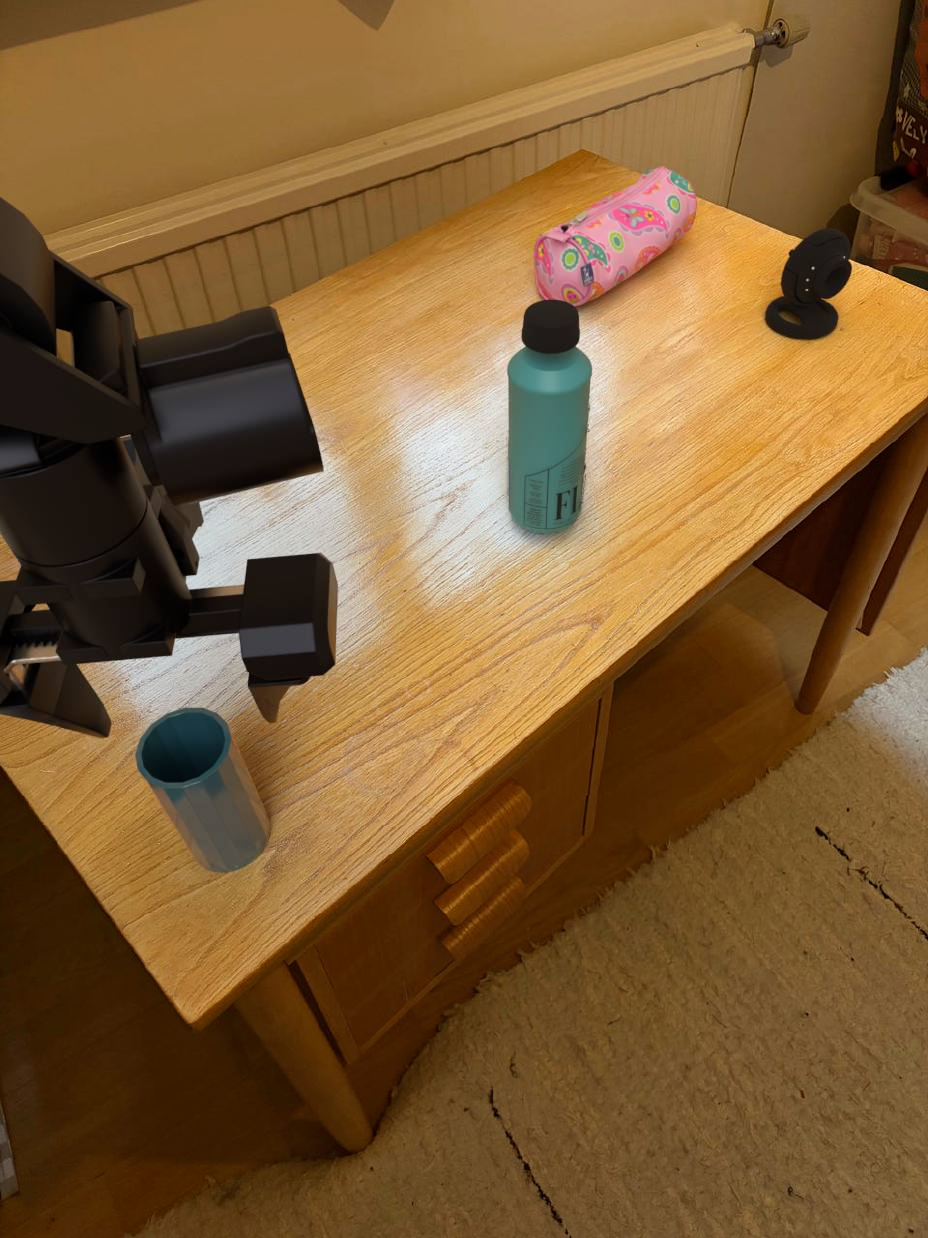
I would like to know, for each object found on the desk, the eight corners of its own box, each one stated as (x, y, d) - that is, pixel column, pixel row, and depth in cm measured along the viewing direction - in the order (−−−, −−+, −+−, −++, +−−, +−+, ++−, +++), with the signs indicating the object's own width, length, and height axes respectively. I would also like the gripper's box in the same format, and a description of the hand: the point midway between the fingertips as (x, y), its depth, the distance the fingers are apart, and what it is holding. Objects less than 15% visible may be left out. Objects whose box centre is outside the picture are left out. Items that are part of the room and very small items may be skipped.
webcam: (795, 349, 91) (822, 257, 83) (748, 315, 95) (769, 225, 88) (852, 327, 93) (883, 235, 86) (804, 296, 98) (829, 205, 90)
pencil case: (583, 325, 95) (589, 245, 88) (520, 296, 100) (522, 217, 93) (697, 250, 105) (710, 173, 98) (635, 227, 109) (644, 151, 102)
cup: (173, 855, 57) (116, 768, 49) (219, 788, 60) (172, 696, 52) (242, 885, 56) (195, 801, 47) (285, 814, 59) (248, 724, 50)
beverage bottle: (555, 559, 73) (567, 348, 58) (490, 527, 76) (486, 317, 60) (596, 515, 76) (618, 303, 61) (533, 486, 79) (539, 277, 64)
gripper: (311, 380, 41) (360, 598, 53) (-83, 416, 41) (55, 625, 53) (298, 550, 34) (358, 756, 46) (-178, 592, 34) (6, 788, 46)
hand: (190, 723), depth 48 cm, fingers open, 9 cm apart
